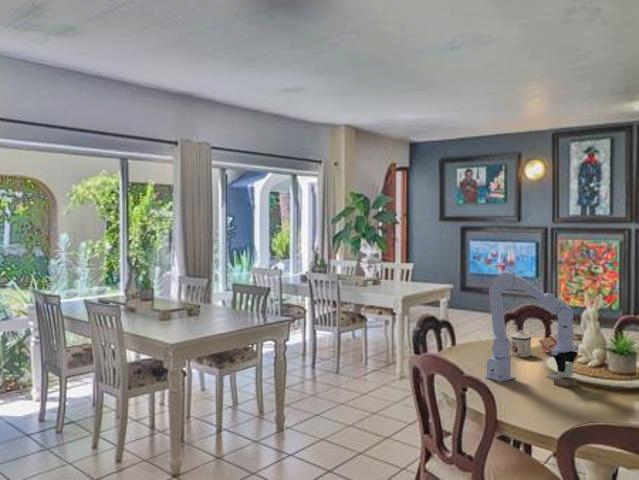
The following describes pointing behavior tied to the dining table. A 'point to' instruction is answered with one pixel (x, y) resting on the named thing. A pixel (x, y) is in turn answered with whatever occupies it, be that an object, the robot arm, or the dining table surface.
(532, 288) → the robot arm
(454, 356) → the dining table surface
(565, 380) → the walnut slab
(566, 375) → the sage block
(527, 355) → the teacup with lid
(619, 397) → the dining table surface
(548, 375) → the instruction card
